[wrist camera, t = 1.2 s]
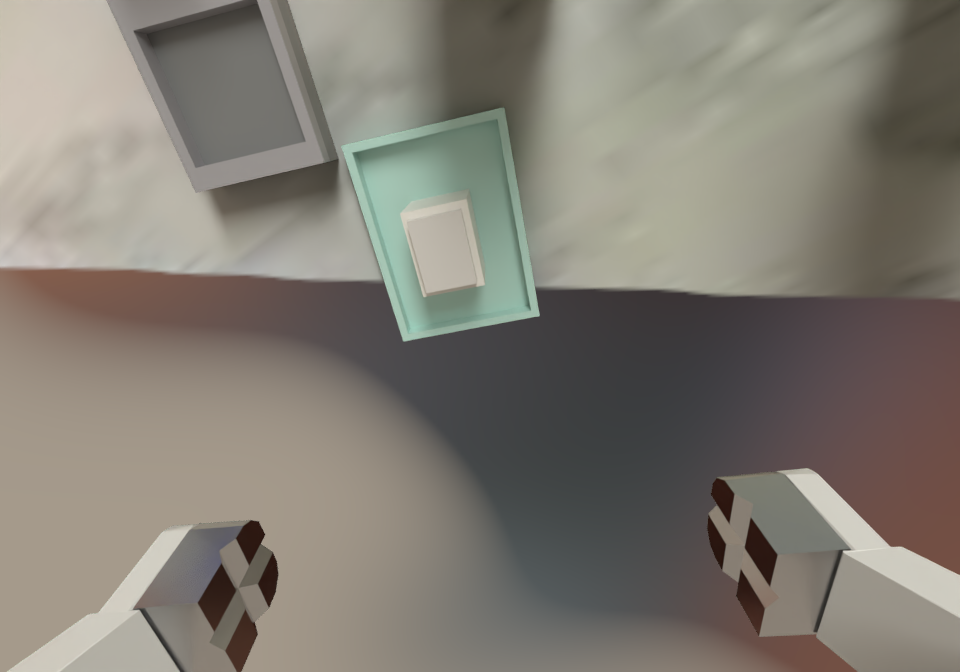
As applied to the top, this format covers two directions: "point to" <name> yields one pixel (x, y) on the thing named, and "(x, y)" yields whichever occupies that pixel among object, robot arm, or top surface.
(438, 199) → the plug
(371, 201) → the tray
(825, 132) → the top surface
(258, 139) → the grey compartment holder
